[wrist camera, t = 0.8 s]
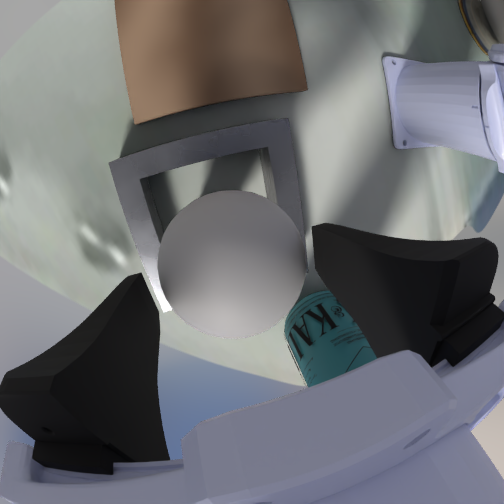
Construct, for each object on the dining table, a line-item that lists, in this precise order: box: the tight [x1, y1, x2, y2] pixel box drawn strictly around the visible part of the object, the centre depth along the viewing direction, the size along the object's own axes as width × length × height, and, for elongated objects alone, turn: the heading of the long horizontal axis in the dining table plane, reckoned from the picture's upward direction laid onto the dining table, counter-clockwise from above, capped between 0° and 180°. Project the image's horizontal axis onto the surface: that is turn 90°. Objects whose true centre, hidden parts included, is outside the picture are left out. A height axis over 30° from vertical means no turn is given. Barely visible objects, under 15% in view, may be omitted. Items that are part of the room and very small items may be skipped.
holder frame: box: [109, 118, 308, 312], centre depth 17 cm, size 10×10×2 cm
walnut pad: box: [115, 0, 308, 125], centre depth 12 cm, size 11×11×1 cm
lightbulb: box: [157, 190, 307, 339], centre depth 14 cm, size 6×6×11 cm
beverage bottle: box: [284, 291, 377, 388], centre depth 15 cm, size 6×7×20 cm
